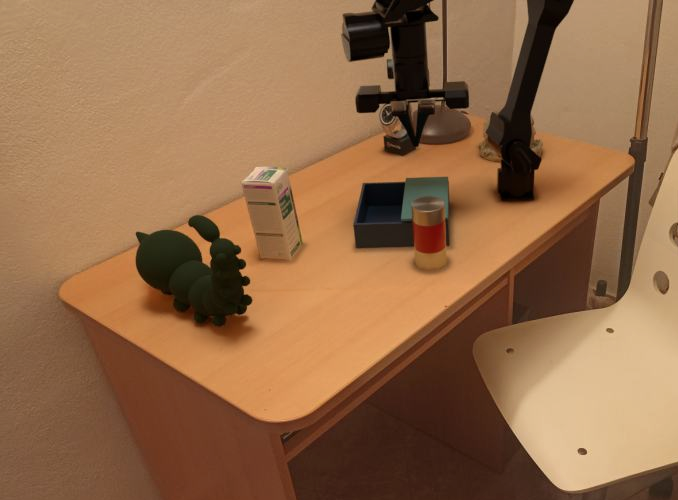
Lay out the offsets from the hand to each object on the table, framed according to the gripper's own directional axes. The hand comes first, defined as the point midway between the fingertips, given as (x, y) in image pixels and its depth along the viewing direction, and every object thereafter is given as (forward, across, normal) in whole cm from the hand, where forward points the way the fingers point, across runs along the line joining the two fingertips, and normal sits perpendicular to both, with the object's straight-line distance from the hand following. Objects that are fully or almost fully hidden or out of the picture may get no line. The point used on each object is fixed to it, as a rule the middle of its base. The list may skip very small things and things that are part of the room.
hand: (416, 146), depth 119 cm
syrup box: (+13, +24, +13) cm, 30 cm away
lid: (+7, -1, +5) cm, 9 cm away
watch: (+13, +5, -30) cm, 33 cm away
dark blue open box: (+13, +3, +5) cm, 14 cm away
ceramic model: (+13, -19, -26) cm, 35 cm away
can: (+13, -2, +18) cm, 22 cm away
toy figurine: (+13, +34, +28) cm, 46 cm away
